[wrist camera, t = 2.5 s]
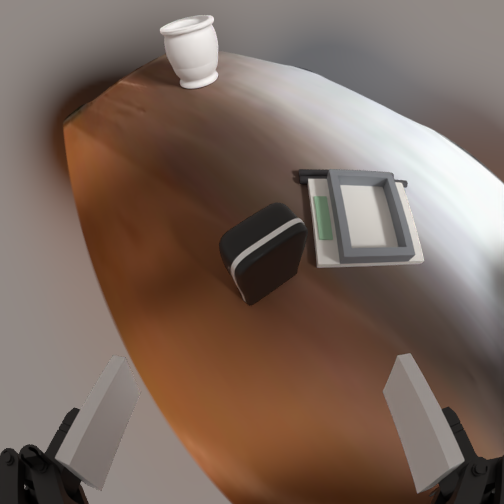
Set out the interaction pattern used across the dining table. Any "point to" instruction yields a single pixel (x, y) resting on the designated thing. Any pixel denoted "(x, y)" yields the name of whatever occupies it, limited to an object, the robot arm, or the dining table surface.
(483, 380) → the dining table surface
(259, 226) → the black rounded block
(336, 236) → the panel board
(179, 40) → the jar
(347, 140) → the dining table surface
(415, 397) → the robot arm
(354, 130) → the dining table surface
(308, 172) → the slim dark grey rod
